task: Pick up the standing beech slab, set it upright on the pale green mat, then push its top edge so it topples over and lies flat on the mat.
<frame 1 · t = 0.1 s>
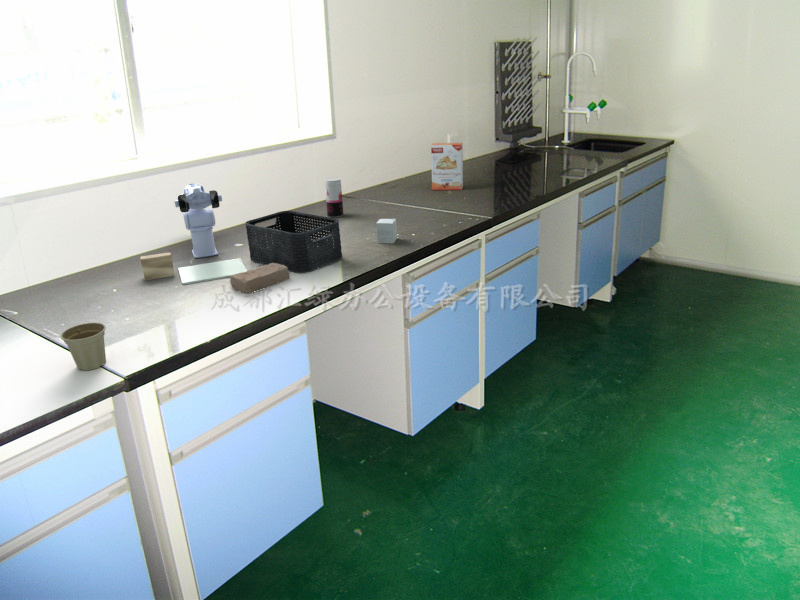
hand: (200, 204, 203), 22 cm above the worktop, tool horizontal, fingers open, 7 cm apart
brick: (261, 285, 197), on the worktop
cracker box: (447, 189, 305), on the worktop
flower pot: (91, 365, 152), on the worktop
storage bin: (296, 260, 218), on the worktop
slab: (159, 276, 208), on the worktop
mat: (212, 271, 210), on the worktop
product box: (387, 241, 232), on the worktop
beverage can: (335, 216, 268), on the worktop
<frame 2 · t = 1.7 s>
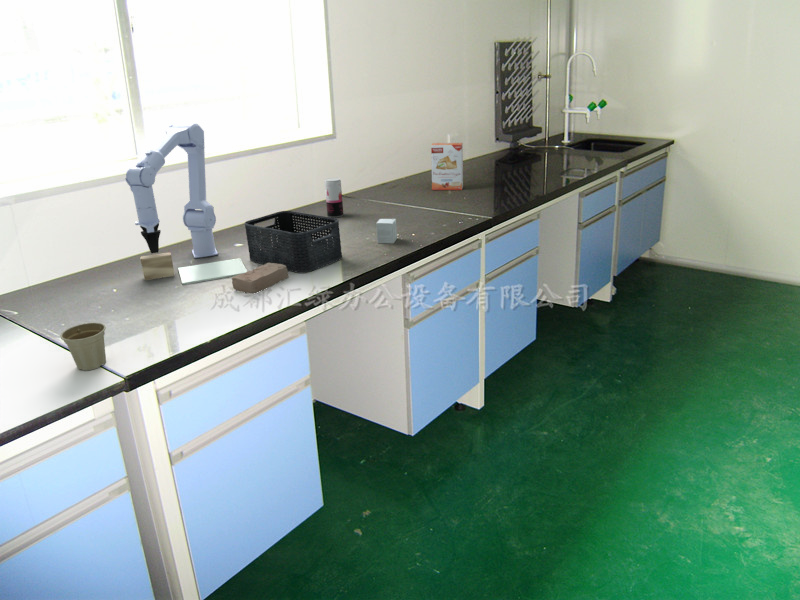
hand: (154, 249, 204), 9 cm above the worktop, tool pointing down, fingers open, 7 cm apart
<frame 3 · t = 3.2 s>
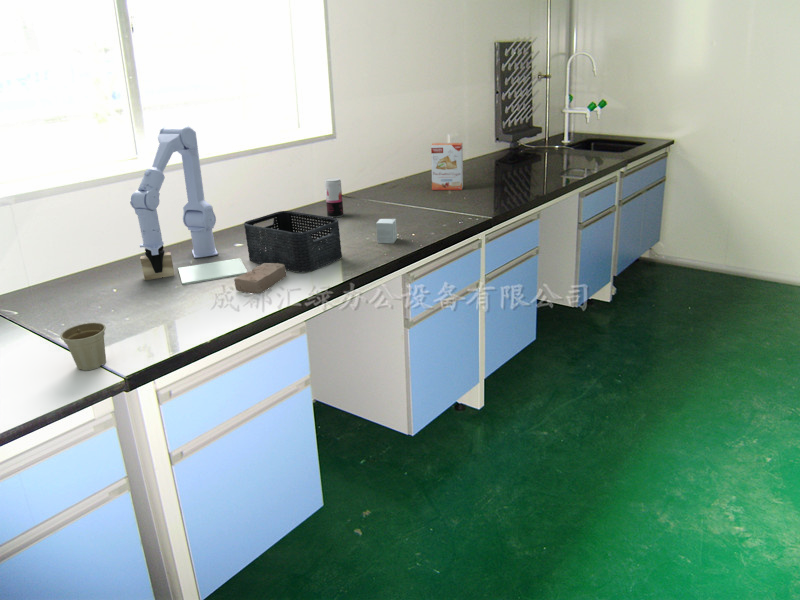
hand: (158, 270, 207), 2 cm above the worktop, tool pointing down, fingers closed on slab, 3 cm apart
slab: (159, 276, 208), on the worktop, touching gripper
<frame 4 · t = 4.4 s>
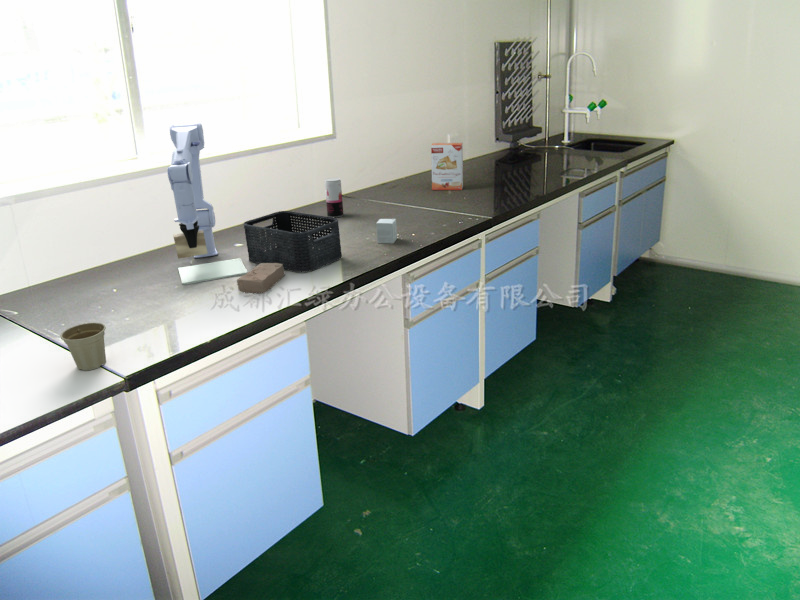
hand: (192, 246, 206), 9 cm above the worktop, tool pointing down, fingers closed on slab, 3 cm apart
slab: (192, 254, 207), point 6 cm above the worktop, touching gripper
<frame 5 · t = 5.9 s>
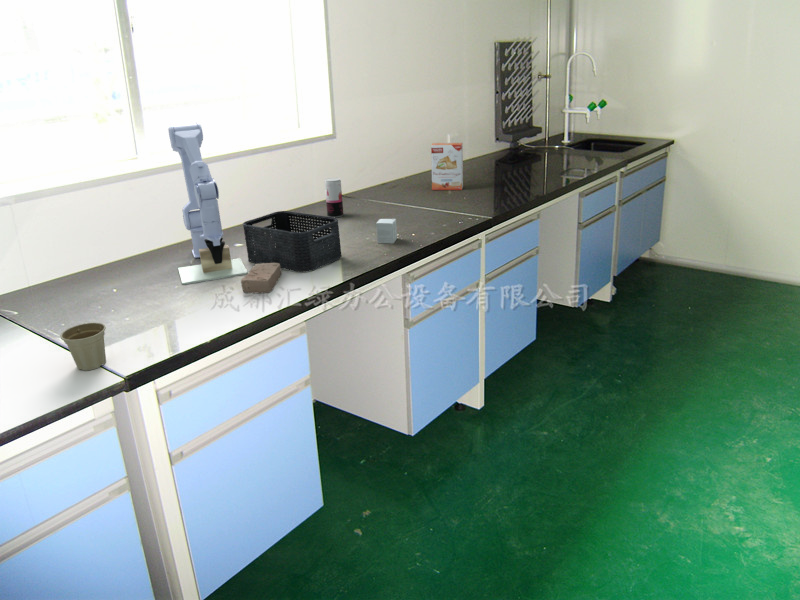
hand: (217, 261, 209), 3 cm above the worktop, tool pointing down, fingers closed on slab, 3 cm apart
slab: (217, 269, 210), point 1 cm above the worktop, touching gripper, mat
when the fingers open (3 cm above the worktop, at t = 6.3 s): slab stays where it is, resting on mat.
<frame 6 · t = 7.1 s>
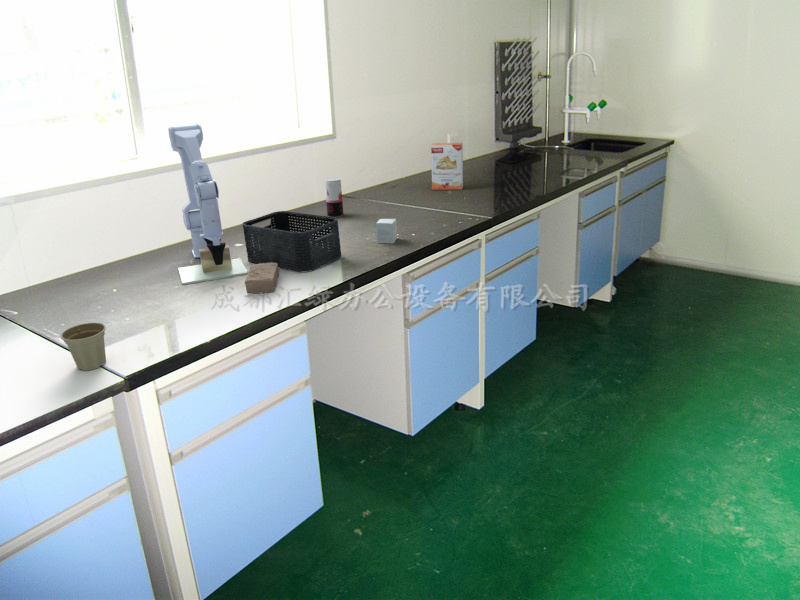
hand: (217, 261, 209), 3 cm above the worktop, tool pointing down, fingers open, 7 cm apart
slab: (217, 269, 210), point 1 cm above the worktop, touching mat
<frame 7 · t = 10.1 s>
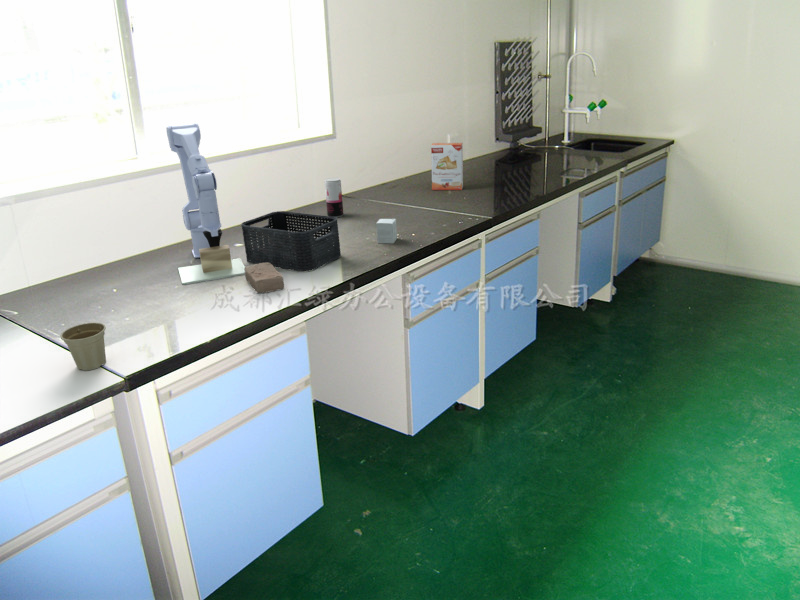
hand: (215, 252, 210), 5 cm above the worktop, tool pointing down, fingers closed
slab: (217, 268, 210), point 1 cm above the worktop, tilted 6°, touching mat
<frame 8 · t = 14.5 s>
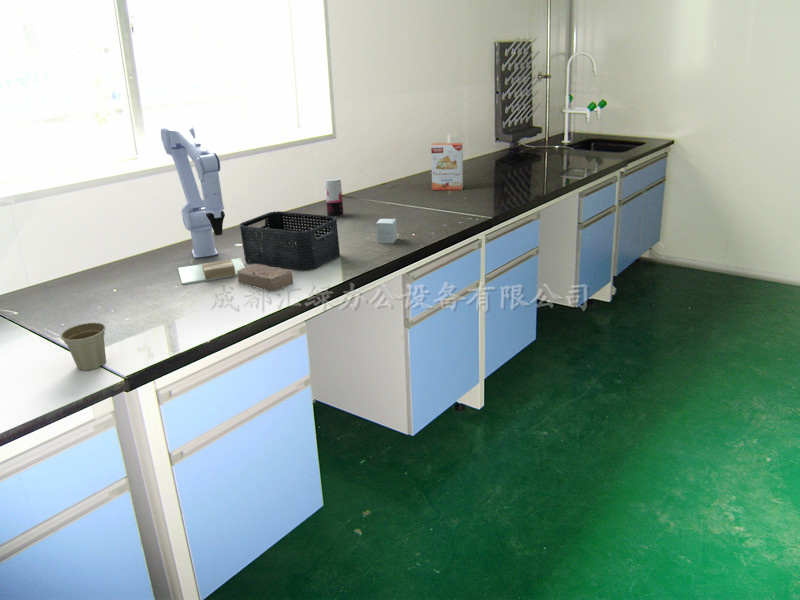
hand: (218, 234, 211), 10 cm above the worktop, tool pointing down, fingers closed
slab: (217, 266, 208), point 2 cm above the worktop, tilted 90°, touching mat
at the end: slab tilted 90°; slab inside the target area on the mat (1.9 cm from its centre), point 2.1 cm above the mat's base; the gripper is holding nothing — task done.
